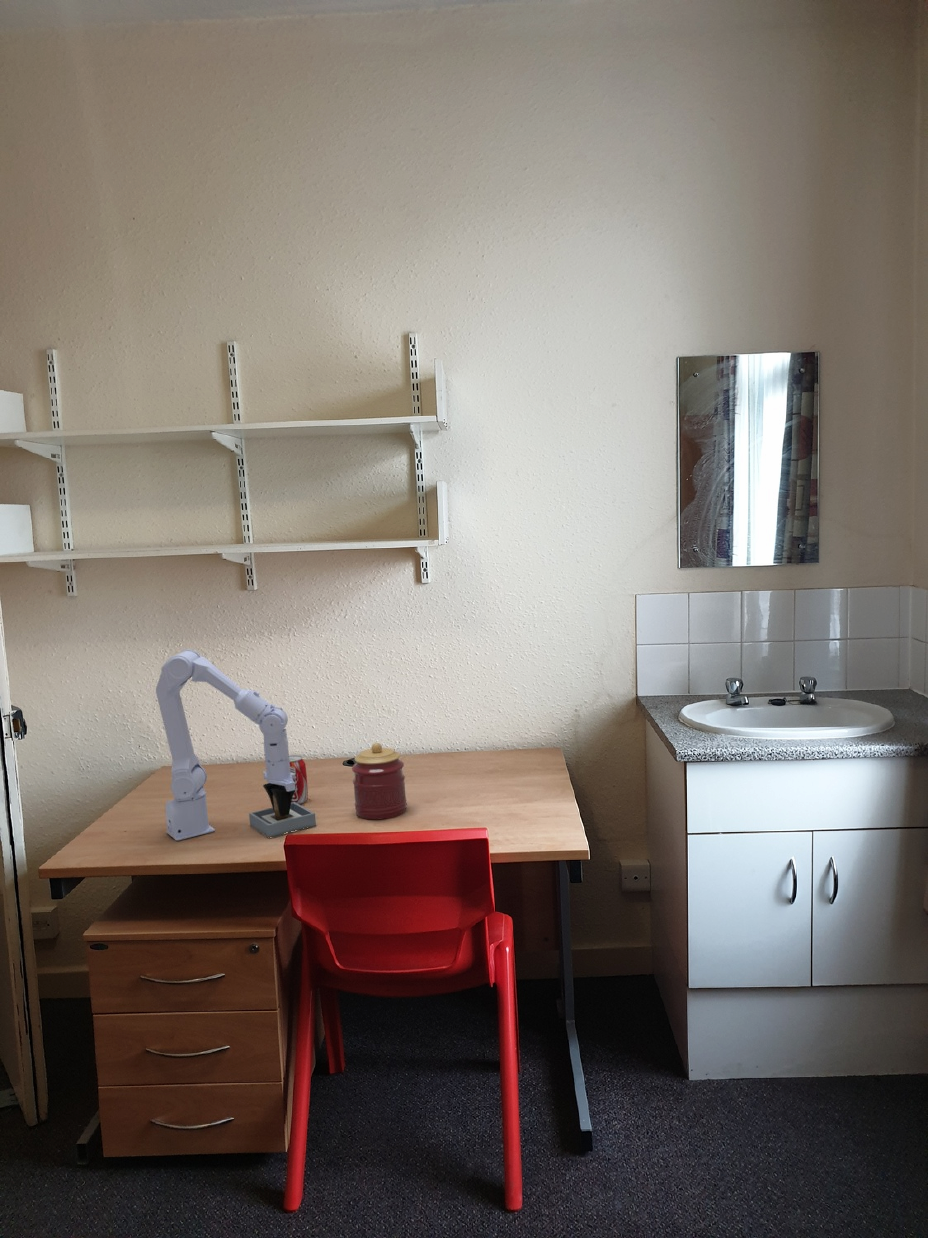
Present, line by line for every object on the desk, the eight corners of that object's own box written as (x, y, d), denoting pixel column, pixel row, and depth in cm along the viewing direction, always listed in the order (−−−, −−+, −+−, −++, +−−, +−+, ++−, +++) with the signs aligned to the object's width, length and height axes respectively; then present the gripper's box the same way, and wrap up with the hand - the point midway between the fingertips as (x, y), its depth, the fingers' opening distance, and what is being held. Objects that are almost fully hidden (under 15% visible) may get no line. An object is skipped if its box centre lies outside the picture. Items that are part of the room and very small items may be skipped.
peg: (279, 825, 218) (276, 797, 217) (273, 822, 220) (270, 794, 219) (290, 821, 220) (287, 794, 219) (284, 819, 222) (281, 791, 221)
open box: (269, 838, 212) (268, 825, 211) (250, 825, 222) (249, 813, 221) (316, 826, 218) (315, 813, 218) (295, 814, 228) (294, 802, 228)
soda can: (313, 801, 238) (310, 757, 236) (290, 808, 233) (286, 763, 232) (299, 796, 243) (296, 753, 241) (276, 803, 238) (272, 758, 237)
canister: (349, 820, 221) (343, 750, 219) (362, 803, 234) (357, 737, 232) (401, 820, 219) (396, 749, 217) (411, 803, 232) (407, 735, 230)
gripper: (305, 761, 214) (309, 816, 216) (280, 750, 226) (284, 802, 228) (277, 767, 210) (282, 823, 212) (253, 755, 222) (258, 809, 224)
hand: (281, 813), depth 220 cm, fingers closed on peg, 3 cm apart
